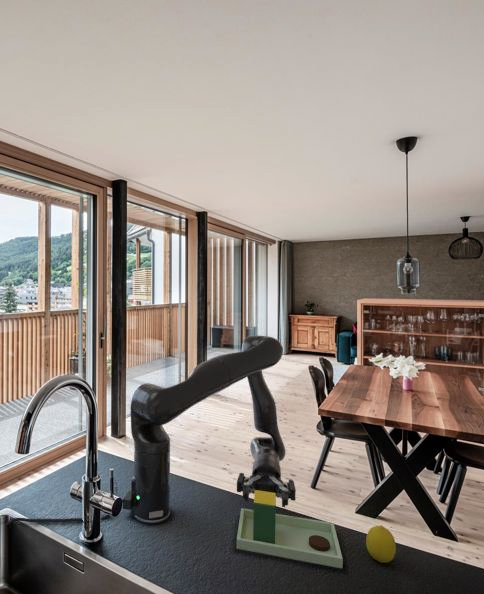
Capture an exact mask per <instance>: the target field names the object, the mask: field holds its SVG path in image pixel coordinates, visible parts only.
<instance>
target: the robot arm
mask: <svg viewBox="0 0 484 594" xmlns="http://www.w3.org/2000/svg"><path fill="white" fill-rule="evenodd" d="M283 353H284V347H283V344H282V343H281V341H280V340H279V339H277V338H275V337H273V336H268V335H257V334H251V335H247V336H246V337H245V338H244V340H243V342H242V345H241V351H237V352H231V353H224V354H219V355H215V356H214V357H211V358H210V359H206V360H205V361H203V362H201V363H199V364H198V365H196V366H195V367H194V368H193V369H192V371H191V373H190V375H189V376H188V377H187V378H186V379H185V380H183V381H181V382H179V383H177V384H174V385H172V386H168V387H163V386H159V385H156V384H153V383H150V382H145V383H144V382H143V383H142V384H139V385H138V386H137V387H136V388H135V389H134V391H133V393H132V395H131V399H130V432H131V433H130V434H131V437H132V440H133V452H134V453H133V477H132V478H131V480H130V482H131V483H130V485H131V486H130V490H128V491H127V492H126V494H124V497H123V498H122V499H121V500H122V510H127V511H130V517H131V518H135V520H136V521H139V522H140V523H143V524H148V525H149V524H150V525H156V524H160V523H163V522H166V521H167V520H168V519H169V517H170V516H171V510H170V508H171V506H170V501H171V500H170V499H171V498H170V496H171V495H170V493H171V492H170V491H171V438H170V437H171V436H170V435H169V434H168V433H167V431H166V430H165V428H164V425H167V424H169V423H170V422H172V421H174V420H175V419H176V418H178V417H179V416H180V415H182V414H183V413H185V412H186V411H188V410H189V409H191V408H192V407H194V406H195V405H197V404H199V403H201V402H202V401H204V400H206V399H209V398H210V397H212V396H214V395H216V394H218V393H220V392H222V391H224V390H226V389H228V388H229V387H231V386H233V385H234V384H236V383H238V382H240V381H242V380H244V379H247V382H248V386H249V390H250V396H251V401H252V413H253V425H254V428H255V431H257V432H259V433H262V434H267V435H269V437H268V436H256V437H254V438H253V439H252V440H251V441H250V445H249V447H250V448H249V449H250V453H251V456H252V458H253V460H254V461H253V463H252V469H251V475H250V476H246V475H245V473H244V472H239V474H238V476H237V480H236V492H237V493H242V499H244V500H245V502H249V499H250V494H253V495H255V490H259V491H265V492H272V493H276V498H279V499H281V507H282V508H286V506H288V505H289V500H290V501H296V500H297V499H296V492H297V490H296V487H295V486H296V485H295V480H293V479H289V480H288V481H287V482H286V481H283V480H282V469H281V464H280V462H281V461H284V459H285V457H286V452H287V451H286V447H285V444H284V442H283V438H282V437H281V434H280V429H279V425H278V415H277V405H276V401H275V398H274V396H273V394H272V392H271V389H270V388H269V386H268V384H267V383H266V380H265V378H264V374H263V371H264V370H267V369H270V368H271V367H274V366H276V365H277V364H278V363H279V362H280V360H281V359H282V357H283ZM108 514H109V513H107V514H106V515H104V516H102V517H100V518H101V520H100V521H103V520H106V519H108V518H110V517H111V516H110V515H108ZM82 518H83V517H81V518H80V517H72V518H27V517H14V518H12V519H10V520H8V521H7V522H6V523H5V527H7V526H10V525H11V524H12V523H14V522H24V523H71V522H78V523H79V522H82V523H84V522H83V520H82Z"/></svg>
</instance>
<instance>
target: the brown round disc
mask: <svg viewBox="0 0 484 594" xmlns="http://www.w3.org/2000/svg"><path fill="white" fill-rule="evenodd" d="M309 545H310V546H311V547H312V548H313V549H315V550H317V551H322V552H324V551H328V550H329V549H330V542H329V541H328V540H327V539H326V538H324V537H322V536H318V535H313V536H310V537H309Z"/></svg>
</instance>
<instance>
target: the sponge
mask: <svg viewBox="0 0 484 594" xmlns="http://www.w3.org/2000/svg"><path fill="white" fill-rule="evenodd" d="M253 495H254V496H253V510H254V514H253V540H254V541H260V542H265V543H271V544H275V522H276V514H277V513H276V512H277V497H276V493H272V492H265V491H259V490H255V493H254V494H253Z"/></svg>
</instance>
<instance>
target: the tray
mask: <svg viewBox="0 0 484 594" xmlns="http://www.w3.org/2000/svg"><path fill="white" fill-rule="evenodd" d="M253 514H254V509H251V508H243V507H241V508H240V515H239V522H238V528H237V533H236V534H237V535H236V549H237V550H243V551H249V552H252V553H253V552H254V553H259V554H263V555H269V556H275V557H278V558H279V557H280V558H285V559H291V560H294V561H299V562H305V563H312V564H316V565H321V566H326V567H327V566H328V567H331V568H332V567H333V568H337V569H343V568H344V567H343V565H344V564H343V563H344V558H343V554H342V551H341V547H340V543H339V539H338V535H337V531H336V528H335V527H336V526H335V523H334V522H330V521H325V520H317V519H313V518H312V519H311V518H305V517H299V516H293V515H287V514H280V513H276V522H275V544H271V543H265V542H260V541H254V540H253ZM313 535H318V536H322V537H324V538H326V539H327V540H328V541H329V542H330V549H329V550H328V551H324V552H322V551H317V550H315V549H313V548H312V547H311V546H310V545H309V537H310V536H313Z"/></svg>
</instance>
